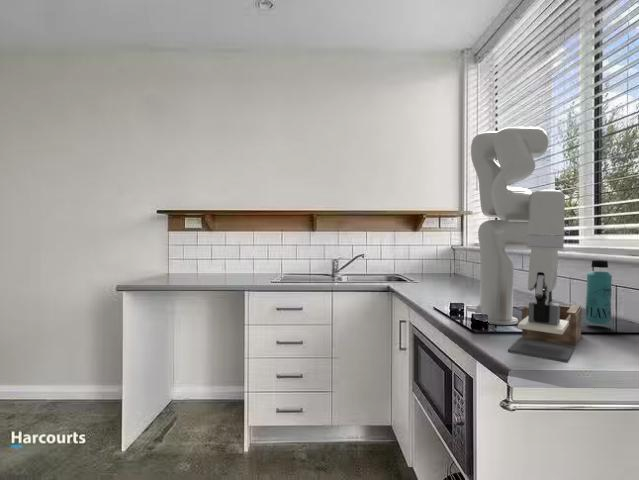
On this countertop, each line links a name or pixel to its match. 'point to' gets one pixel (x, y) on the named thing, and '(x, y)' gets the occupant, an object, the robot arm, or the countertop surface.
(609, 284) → the beverage bottle
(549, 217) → the robot arm
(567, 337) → the walnut box
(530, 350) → the charcoal mat
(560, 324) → the cover plate
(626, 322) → the countertop surface
